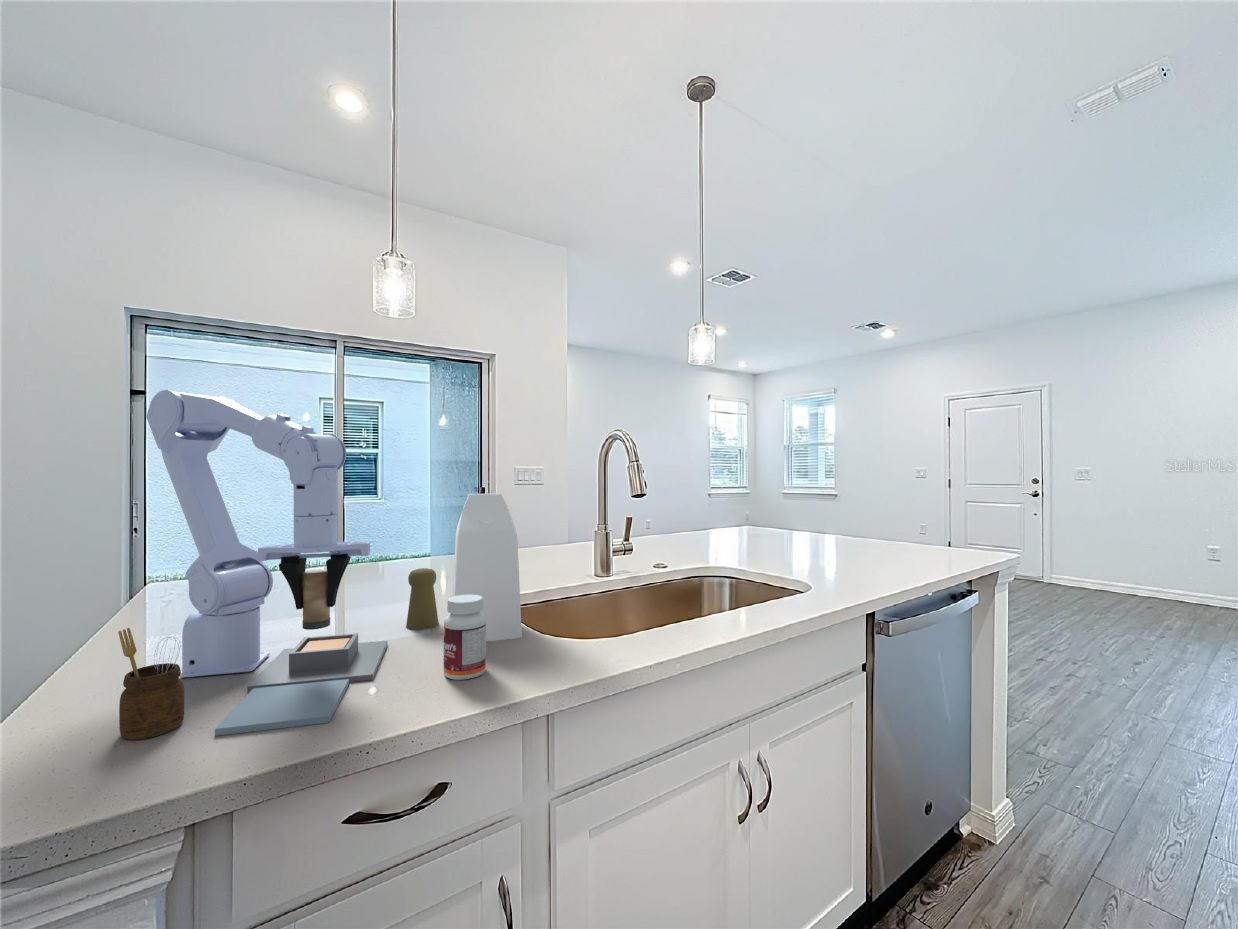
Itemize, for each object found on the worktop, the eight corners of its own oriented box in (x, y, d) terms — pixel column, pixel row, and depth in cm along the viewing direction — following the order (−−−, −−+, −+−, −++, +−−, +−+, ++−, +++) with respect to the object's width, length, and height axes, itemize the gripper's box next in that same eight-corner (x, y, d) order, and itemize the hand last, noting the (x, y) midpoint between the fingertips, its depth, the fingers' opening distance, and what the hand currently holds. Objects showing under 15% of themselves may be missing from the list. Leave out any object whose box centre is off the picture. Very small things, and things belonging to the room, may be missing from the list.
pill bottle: (436, 672, 83) (436, 598, 83) (473, 662, 87) (473, 591, 87) (455, 684, 79) (455, 605, 79) (493, 673, 83) (493, 598, 83)
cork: (428, 630, 104) (428, 572, 104) (399, 628, 105) (399, 571, 105) (444, 621, 110) (444, 566, 110) (417, 620, 111) (417, 565, 111)
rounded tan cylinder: (299, 630, 79) (299, 575, 79) (306, 623, 83) (305, 570, 83) (327, 628, 80) (327, 573, 80) (332, 621, 84) (332, 569, 84)
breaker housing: (247, 692, 76) (247, 666, 76) (284, 653, 92) (284, 632, 92) (372, 679, 80) (372, 655, 80) (387, 645, 96) (387, 624, 96)
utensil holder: (161, 740, 63) (160, 635, 63) (102, 743, 62) (101, 637, 62) (196, 717, 69) (196, 621, 69) (142, 718, 68) (142, 622, 68)
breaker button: (298, 667, 82) (298, 653, 82) (309, 653, 88) (309, 641, 88) (342, 663, 84) (342, 649, 84) (350, 650, 90) (350, 637, 90)
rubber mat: (214, 735, 64) (214, 729, 64) (253, 694, 75) (253, 688, 75) (329, 722, 67) (329, 716, 67) (349, 684, 79) (349, 679, 79)
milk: (513, 620, 111) (513, 491, 111) (521, 637, 100) (521, 494, 100) (451, 626, 107) (451, 492, 107) (452, 644, 96) (452, 496, 96)
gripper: (249, 519, 76) (250, 617, 76) (364, 515, 80) (365, 609, 80) (266, 514, 82) (267, 605, 82) (372, 511, 86) (372, 598, 86)
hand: (316, 606), depth 82 cm, fingers closed on rounded tan cylinder, 3 cm apart
